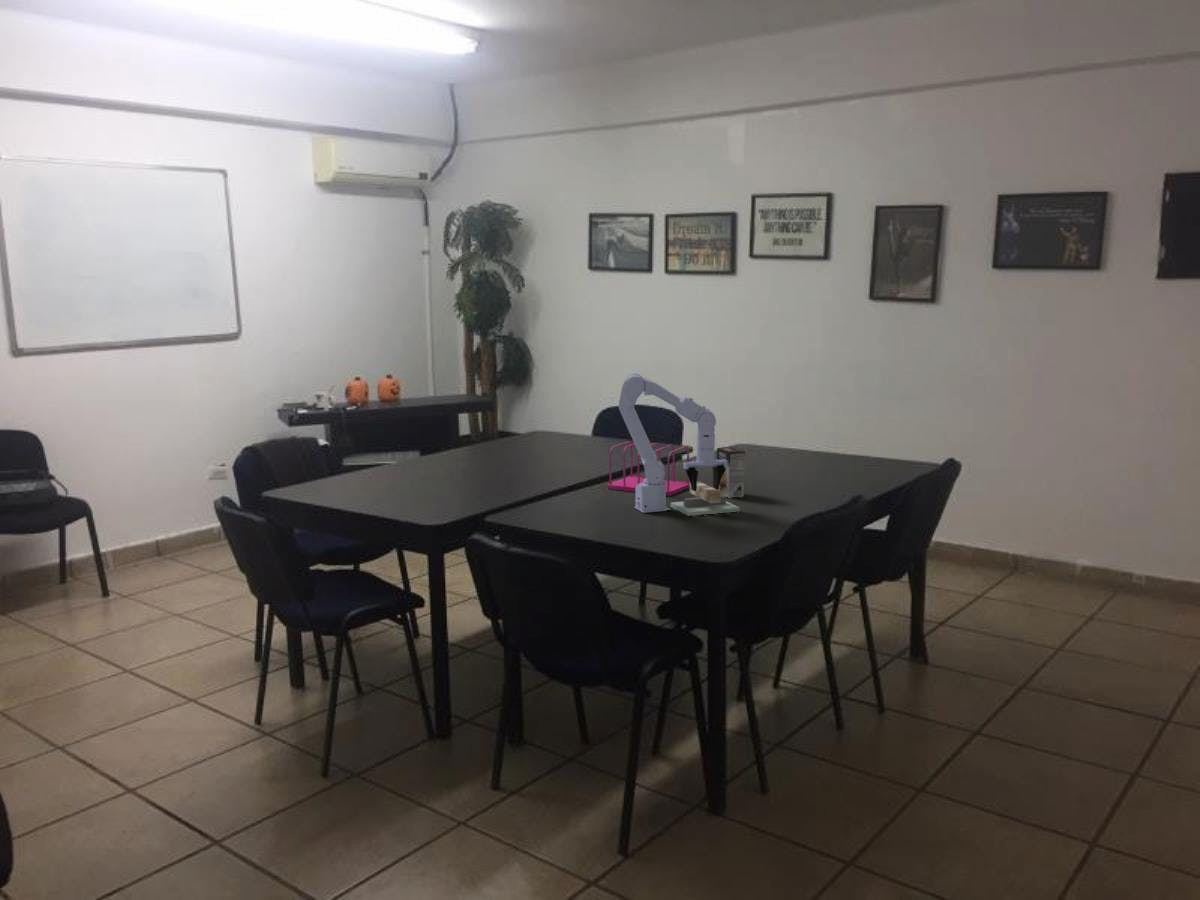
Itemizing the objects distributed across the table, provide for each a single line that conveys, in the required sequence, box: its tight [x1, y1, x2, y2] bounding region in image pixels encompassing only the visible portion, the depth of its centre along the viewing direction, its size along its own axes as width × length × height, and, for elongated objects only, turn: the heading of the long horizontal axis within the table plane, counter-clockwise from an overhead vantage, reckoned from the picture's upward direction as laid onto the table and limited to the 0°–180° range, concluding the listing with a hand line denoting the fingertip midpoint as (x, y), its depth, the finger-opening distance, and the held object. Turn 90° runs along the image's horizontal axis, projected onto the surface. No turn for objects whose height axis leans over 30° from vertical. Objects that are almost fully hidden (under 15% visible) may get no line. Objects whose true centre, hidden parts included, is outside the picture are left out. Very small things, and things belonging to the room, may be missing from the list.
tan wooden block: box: [689, 481, 721, 503], centre depth 309 cm, size 16×4×4 cm, turn 19°
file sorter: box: [606, 441, 690, 497], centre depth 341 cm, size 17×25×16 cm
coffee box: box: [716, 446, 746, 499], centre depth 329 cm, size 9×6×16 cm
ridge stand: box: [669, 495, 741, 516], centre depth 310 cm, size 18×14×4 cm
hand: (705, 489), depth 309 cm, fingers open, 7 cm apart
